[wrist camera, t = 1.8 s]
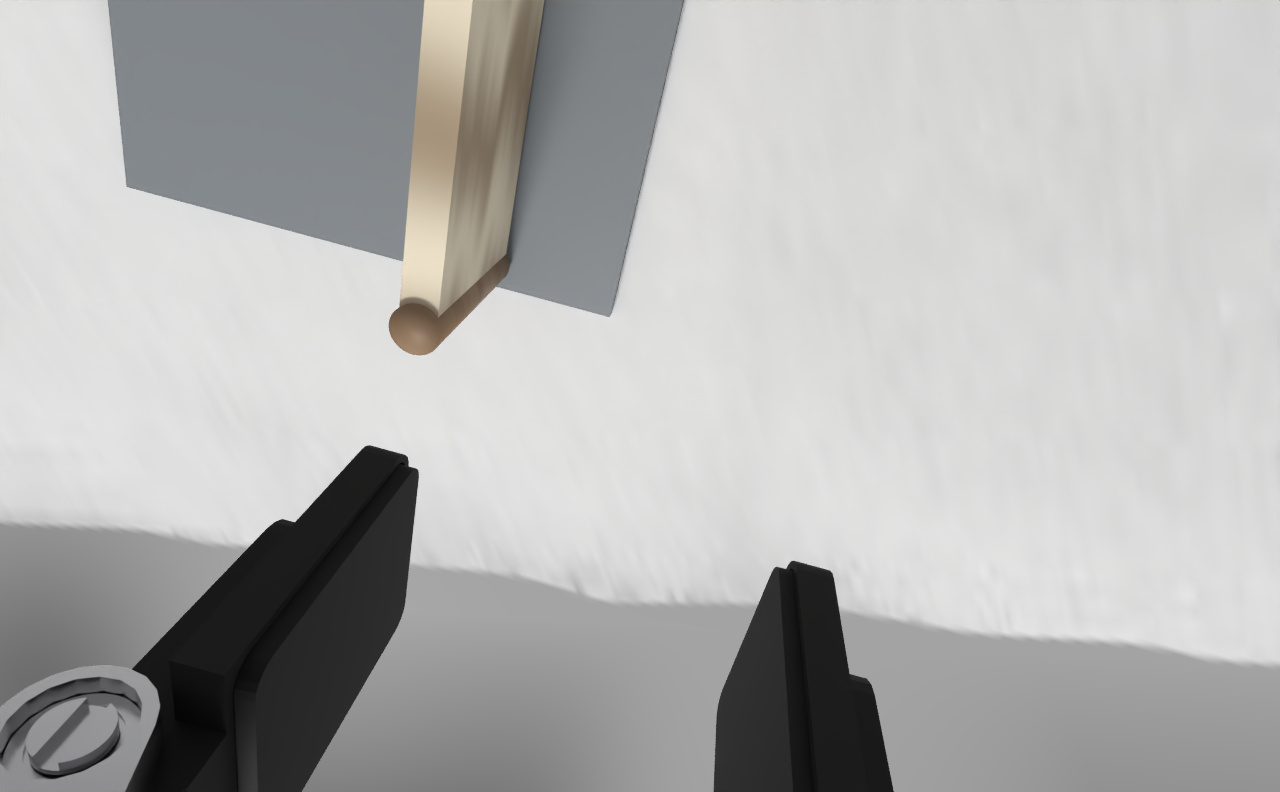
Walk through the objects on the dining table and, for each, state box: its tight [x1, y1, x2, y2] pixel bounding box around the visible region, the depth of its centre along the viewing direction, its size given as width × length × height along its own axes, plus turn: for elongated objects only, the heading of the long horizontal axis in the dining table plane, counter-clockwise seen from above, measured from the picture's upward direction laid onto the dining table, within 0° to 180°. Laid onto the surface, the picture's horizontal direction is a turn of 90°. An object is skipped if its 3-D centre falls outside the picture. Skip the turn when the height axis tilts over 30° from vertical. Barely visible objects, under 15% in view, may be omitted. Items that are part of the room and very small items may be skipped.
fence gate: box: [389, 0, 544, 355], centre depth 23 cm, size 12×2×7 cm, turn 167°
